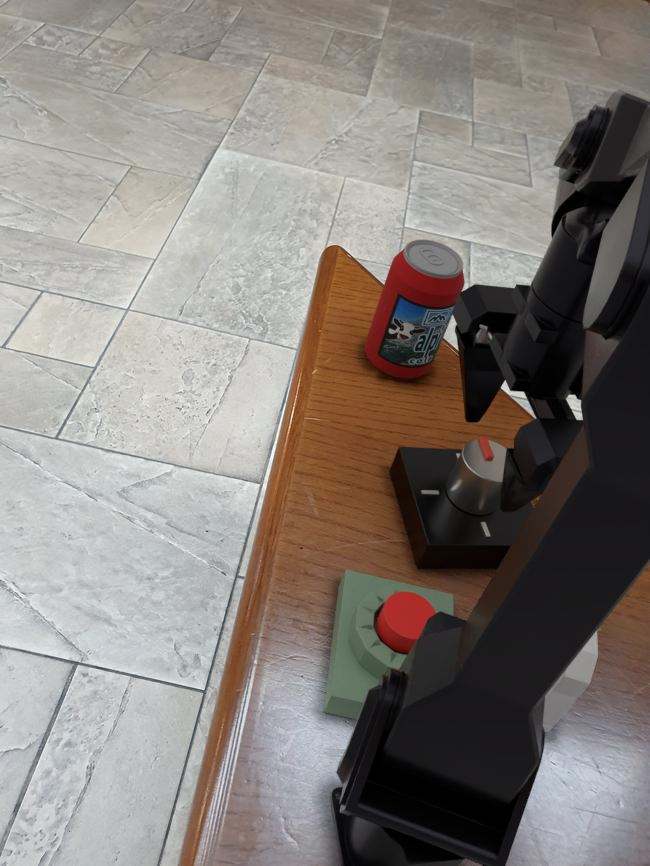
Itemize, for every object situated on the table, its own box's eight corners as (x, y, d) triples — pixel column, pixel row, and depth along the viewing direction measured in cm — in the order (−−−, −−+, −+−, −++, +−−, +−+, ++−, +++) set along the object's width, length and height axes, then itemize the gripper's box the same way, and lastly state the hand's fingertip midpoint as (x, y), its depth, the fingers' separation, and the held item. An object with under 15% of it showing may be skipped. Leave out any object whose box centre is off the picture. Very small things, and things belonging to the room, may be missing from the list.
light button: (428, 659, 55) (437, 644, 54) (374, 646, 55) (381, 631, 54) (429, 612, 58) (437, 598, 56) (378, 600, 57) (385, 585, 56)
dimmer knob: (506, 516, 67) (527, 479, 64) (454, 515, 65) (473, 477, 63) (489, 474, 70) (508, 437, 67) (439, 472, 68) (456, 434, 66)
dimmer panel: (534, 568, 68) (550, 544, 65) (416, 568, 65) (429, 543, 63) (497, 474, 74) (510, 449, 72) (388, 471, 72) (399, 444, 70)
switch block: (443, 739, 55) (463, 709, 53) (323, 712, 55) (337, 681, 52) (444, 611, 63) (462, 579, 60) (338, 586, 62) (351, 553, 59)
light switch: (524, 725, 57) (572, 664, 52) (528, 585, 66) (570, 521, 61) (548, 733, 57) (600, 673, 52) (549, 592, 66) (593, 529, 61)
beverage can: (385, 389, 79) (424, 283, 71) (349, 344, 83) (382, 238, 75) (442, 377, 82) (486, 274, 74) (405, 334, 86) (443, 231, 78)
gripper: (752, 404, 50) (629, 563, 61) (625, 230, 63) (541, 387, 74) (586, 394, 47) (487, 563, 58) (487, 213, 60) (421, 379, 71)
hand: (488, 463), depth 65 cm, fingers open, 9 cm apart
